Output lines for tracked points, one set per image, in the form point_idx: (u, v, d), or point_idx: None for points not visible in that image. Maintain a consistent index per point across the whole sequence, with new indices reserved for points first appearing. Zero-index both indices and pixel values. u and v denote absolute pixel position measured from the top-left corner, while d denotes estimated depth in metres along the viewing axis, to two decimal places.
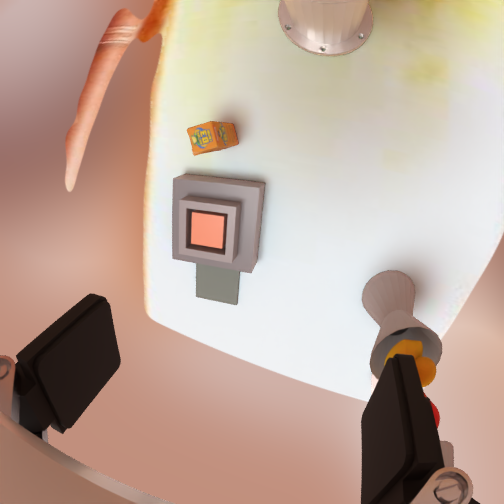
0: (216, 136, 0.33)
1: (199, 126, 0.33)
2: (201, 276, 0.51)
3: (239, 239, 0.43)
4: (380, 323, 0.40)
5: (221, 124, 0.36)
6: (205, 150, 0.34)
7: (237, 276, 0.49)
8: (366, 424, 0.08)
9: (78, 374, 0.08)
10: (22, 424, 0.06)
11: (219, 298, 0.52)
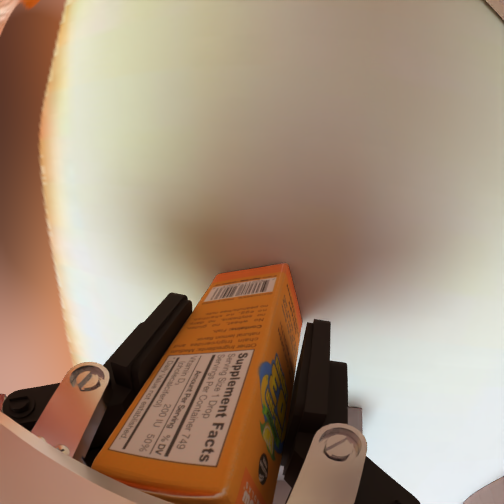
0: None
1: None
2: None
3: None
4: None
5: (266, 371, 0.07)
6: None
7: None
8: (293, 388, 0.10)
9: None
10: (99, 435, 0.07)
11: None
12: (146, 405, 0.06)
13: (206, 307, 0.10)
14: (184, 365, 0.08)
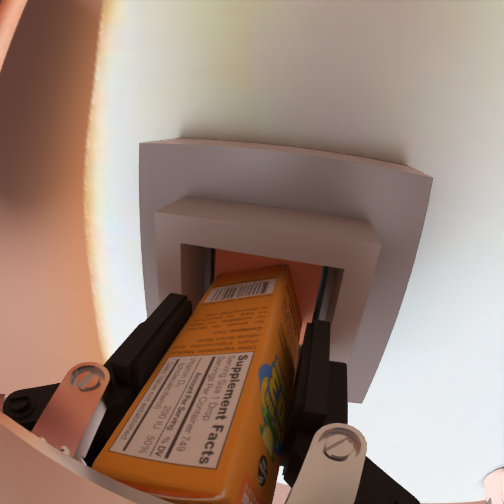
0: None
1: None
2: None
3: None
4: None
5: (266, 373, 0.07)
6: None
7: None
8: (293, 388, 0.10)
9: None
10: (99, 435, 0.07)
11: None
12: (146, 407, 0.06)
13: (206, 309, 0.10)
14: (184, 367, 0.08)
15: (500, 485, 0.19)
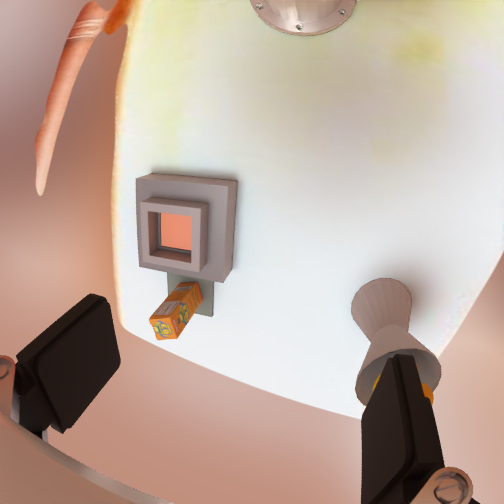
0: (175, 329, 0.36)
1: (159, 320, 0.36)
2: (173, 285, 0.46)
3: (208, 245, 0.38)
4: (370, 339, 0.35)
5: (182, 304, 0.39)
6: (167, 338, 0.37)
7: (210, 286, 0.44)
8: (366, 424, 0.08)
9: (78, 374, 0.08)
10: (22, 424, 0.06)
11: None
12: (159, 309, 0.38)
13: (173, 292, 0.42)
14: (167, 303, 0.39)
15: None
